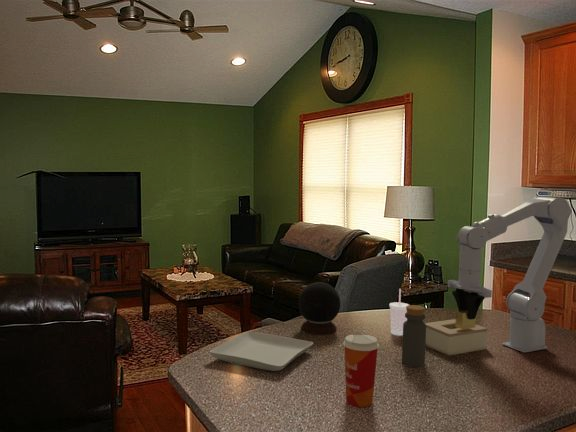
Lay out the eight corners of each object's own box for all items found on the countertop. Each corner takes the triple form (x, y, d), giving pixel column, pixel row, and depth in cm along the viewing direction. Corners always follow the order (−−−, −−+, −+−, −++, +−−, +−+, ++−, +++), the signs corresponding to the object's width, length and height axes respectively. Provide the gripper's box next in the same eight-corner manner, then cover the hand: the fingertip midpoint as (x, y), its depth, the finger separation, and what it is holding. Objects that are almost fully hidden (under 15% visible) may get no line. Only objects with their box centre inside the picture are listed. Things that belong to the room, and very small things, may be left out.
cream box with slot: (458, 337, 162) (459, 318, 162) (486, 349, 152) (487, 328, 152) (422, 343, 156) (422, 323, 155) (448, 355, 146) (449, 334, 146)
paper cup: (338, 394, 119) (340, 333, 118) (372, 394, 120) (374, 333, 119) (345, 410, 111) (347, 344, 110) (381, 409, 112) (383, 344, 111)
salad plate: (314, 352, 148) (315, 340, 147) (281, 379, 129) (281, 365, 128) (247, 341, 157) (247, 329, 156) (207, 364, 137) (207, 351, 137)
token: (468, 324, 152) (469, 308, 152) (475, 327, 150) (476, 311, 150) (455, 326, 150) (455, 310, 150) (462, 329, 148) (462, 313, 147)
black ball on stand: (289, 330, 166) (290, 283, 165) (310, 321, 177) (311, 276, 176) (327, 338, 159) (328, 288, 158) (346, 328, 170) (348, 281, 169)
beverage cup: (411, 332, 167) (413, 288, 166) (404, 337, 162) (406, 291, 160) (392, 329, 170) (394, 285, 169) (385, 333, 165) (386, 289, 164)
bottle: (425, 368, 136) (427, 310, 135) (401, 366, 137) (403, 309, 136) (424, 360, 142) (426, 305, 141) (401, 358, 143) (403, 303, 142)
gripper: (440, 266, 154) (438, 312, 155) (479, 275, 141) (476, 325, 142) (458, 264, 157) (456, 310, 158) (498, 273, 144) (495, 323, 145)
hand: (467, 317), depth 150 cm, fingers closed on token, 3 cm apart
